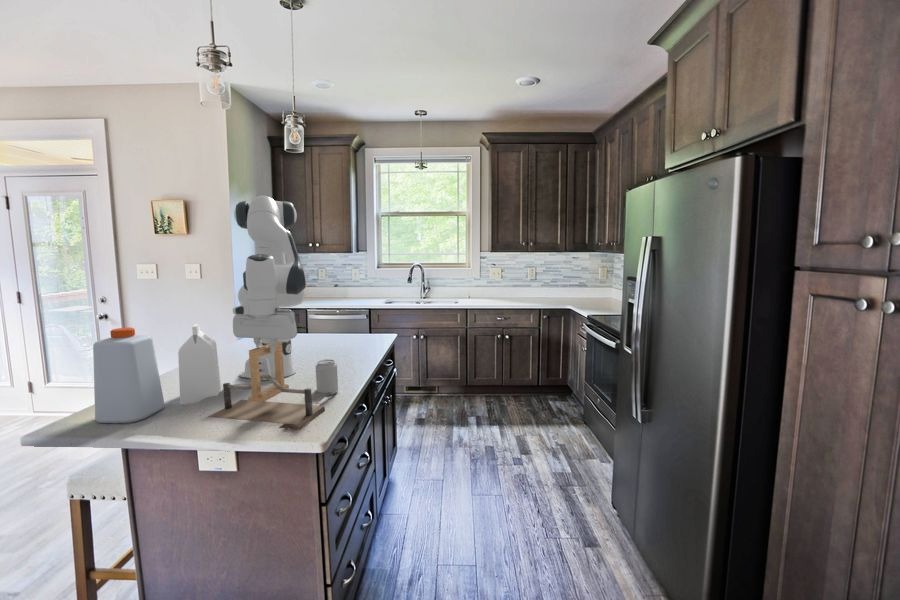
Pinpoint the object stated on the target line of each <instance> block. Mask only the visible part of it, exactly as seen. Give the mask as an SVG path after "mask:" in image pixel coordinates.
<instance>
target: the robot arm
mask: <svg viewBox="0 0 900 600" xmlns="http://www.w3.org/2000/svg"><path fill="white" fill-rule="evenodd" d="M233 212H234V213H233V214H234V215H233V216H234V219H235V220H234V221H236V223H237V224H236V225H237V226H239V227H240V228H241V229H247V234H248V236H249V237H250V239H252V241H253V242H254V250H255V251H254V252H255V253H254V254H250V255H249V256H248V257H247V258H246V264H245V271H244V272H243V273H242V278H243V279H242V280H243V285H242V286H241V287H240V288H239V290H238V293H237V299H238V303H239V304H240V305H238V306H235V307H233V308H232V313H233V315H234V316H233V318H232V333H233V336H235V337H236V338H241V339H242V338H243V339H253V342H254V344H255V348H257V347H260V346H263V345H266V344H269V343H271V345H270V347H267V350H268V353H269V354H266V355H264V356H261V357H259V368H260V376H261V375H270V376H271V377H272V378H273V379H274V380H275V379H276V376H275V360H274V352H275V346H276V344H277V342H278V341H282V351H283V367H284V378H285V377H289V376H292V375H294V374H295V373H296V371H297V370H296V367H295V366H294V361H293V355H292V339H295V338H296V337H297V336H298V328H297V323H296V314H295V312H294V311H293V310H291V308H292V307H294V306H298V305H302V304H303V302H304V301H305V300H306V296H307V295H306V294H307V293H306V287H307V282H308V281H307V280H308V279H307V274H306V271H305V269H304V268H303V264H302V262H301V259H300V256H299V253H298V249H297V246H296V243H295V239H294V237H293V235H292V232H291V231H289V229H291V228H293V227H294V226H295V224H296V222H297V218H298V215H297V211H296V208H295V207H294V204H293V203H292V202H289V201H286V200H284V201H281V200H280V201H278V200H274V198H272V197H271V196H267V195H259V196H256V197H254V198H252V200H250V201H248V200H244V201H239V202H238V203H237V204H236V205H235V208H234V211H233ZM289 307H290V308H289ZM238 377H241V378H246V379H251V375H250V361H249V358H247V359H246V361H245V363H244V370H242V371H241V372H239V373H238ZM267 380H268V379H264V378H263V379H262V380H261V381H267ZM268 381H269V380H268Z"/></svg>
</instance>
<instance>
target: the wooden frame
mask: <svg viewBox="0 0 900 600" xmlns="http://www.w3.org/2000/svg"><path fill="white" fill-rule="evenodd" d="M270 345H271V343H269V344H266V345H263V346H260V347H254V348H252V349H249V350H248V359H249V361H250V375H251V378H250V385H251V390H250V391H251V395H250V396H248V397H247V400H248V401H251V402H264V401H268V400H270V399H271V398H274V397H275V396H278V395H279V394H281V393H283V392H282V391H280V390H279V389H278V388H277V387H276V386H275V385H274V384H272V385H270V386H267V387H266V388H264V389H262V383H261V381H260V368H259V357H261V356H264V355H266V354H269V353H268V350H267V347H270ZM274 360H275V376H276V378H275V380H276V381H277V382H278V383H279V384H280V385H281V386H282V387H283V388H287V389H290V385H289V384H285V377H284V367H283V351H282V341H278V342H277V344H276V346H275V352H274Z"/></svg>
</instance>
